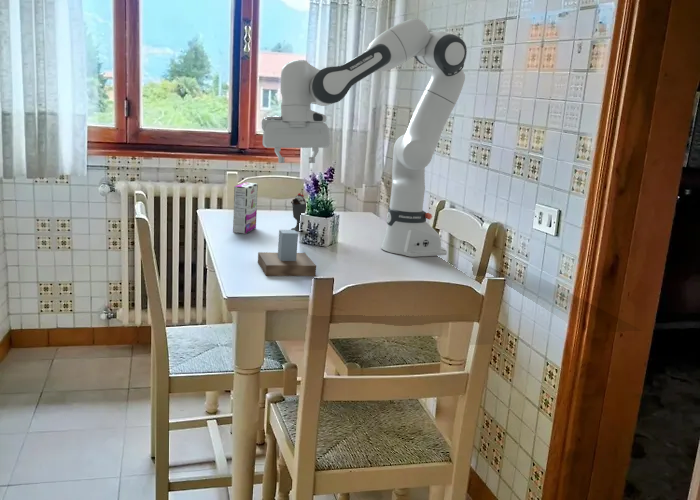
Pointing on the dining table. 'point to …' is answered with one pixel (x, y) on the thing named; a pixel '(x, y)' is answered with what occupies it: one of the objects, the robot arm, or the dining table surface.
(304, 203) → the sundae
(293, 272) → the block
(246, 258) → the dining table surface
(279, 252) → the slate block
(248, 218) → the candy bar box
